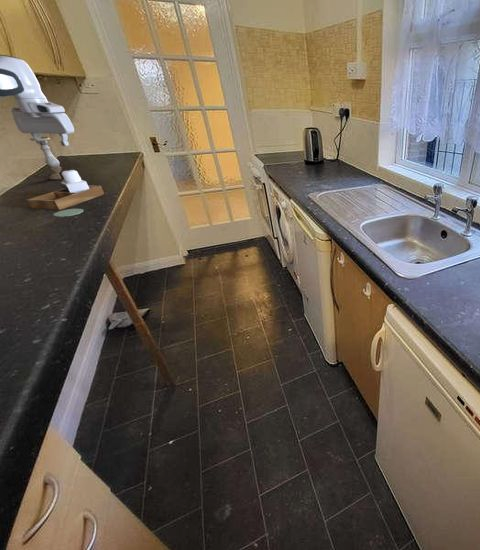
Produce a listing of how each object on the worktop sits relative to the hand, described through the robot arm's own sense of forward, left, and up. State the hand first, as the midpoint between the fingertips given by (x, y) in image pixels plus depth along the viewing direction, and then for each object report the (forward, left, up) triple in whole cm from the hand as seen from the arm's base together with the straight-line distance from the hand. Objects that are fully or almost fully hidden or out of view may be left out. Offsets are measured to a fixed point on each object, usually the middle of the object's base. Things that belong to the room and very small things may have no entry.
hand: (54, 145), depth 122 cm
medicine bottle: (0, 0, -22) cm, 22 cm away
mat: (+12, -19, -22) cm, 32 cm away
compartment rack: (0, -5, -22) cm, 23 cm away
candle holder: (-41, +34, -22) cm, 57 cm away
